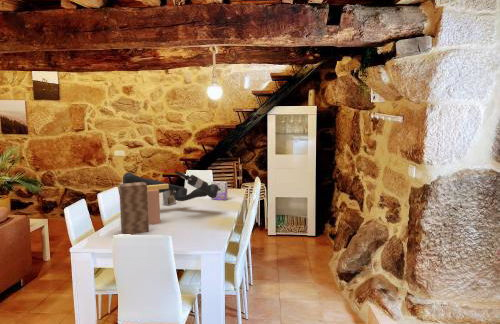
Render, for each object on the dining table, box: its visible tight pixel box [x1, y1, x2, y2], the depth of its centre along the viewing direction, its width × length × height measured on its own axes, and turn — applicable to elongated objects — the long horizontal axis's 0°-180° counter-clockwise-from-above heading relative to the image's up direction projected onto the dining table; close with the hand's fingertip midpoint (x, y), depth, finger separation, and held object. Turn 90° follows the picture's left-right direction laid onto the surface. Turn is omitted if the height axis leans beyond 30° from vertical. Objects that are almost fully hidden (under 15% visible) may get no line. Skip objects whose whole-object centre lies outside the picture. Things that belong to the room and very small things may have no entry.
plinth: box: [118, 182, 150, 235], centre depth 254 cm, size 16×10×32 cm, turn 117°
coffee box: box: [162, 190, 177, 207], centre depth 329 cm, size 9×6×16 cm
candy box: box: [210, 180, 229, 201], centre depth 346 cm, size 14×6×16 cm, turn 76°
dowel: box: [147, 183, 170, 191], centre depth 273 cm, size 22×4×3 cm, turn 117°
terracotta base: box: [147, 190, 161, 226], centre depth 275 cm, size 9×9×24 cm
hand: (176, 172), depth 280 cm, fingers open, 8 cm apart
